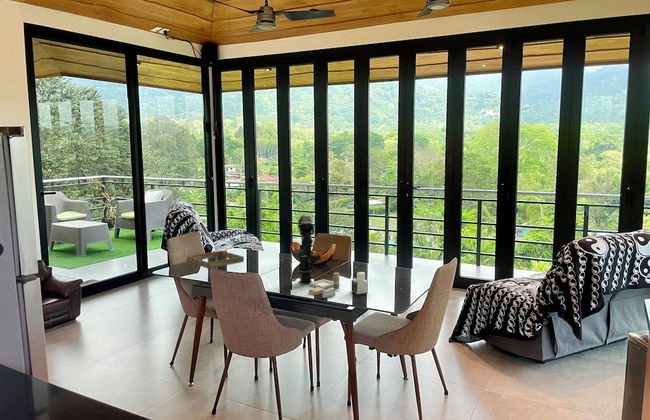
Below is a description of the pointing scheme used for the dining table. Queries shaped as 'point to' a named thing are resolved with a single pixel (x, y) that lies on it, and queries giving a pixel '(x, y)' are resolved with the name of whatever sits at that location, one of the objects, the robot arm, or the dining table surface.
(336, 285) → the dowel
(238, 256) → the frame
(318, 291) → the peach rectangular block
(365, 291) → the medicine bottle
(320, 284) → the tray
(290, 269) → the dining table surface
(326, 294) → the grey sanding sponge
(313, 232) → the robot arm
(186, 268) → the dining table surface
